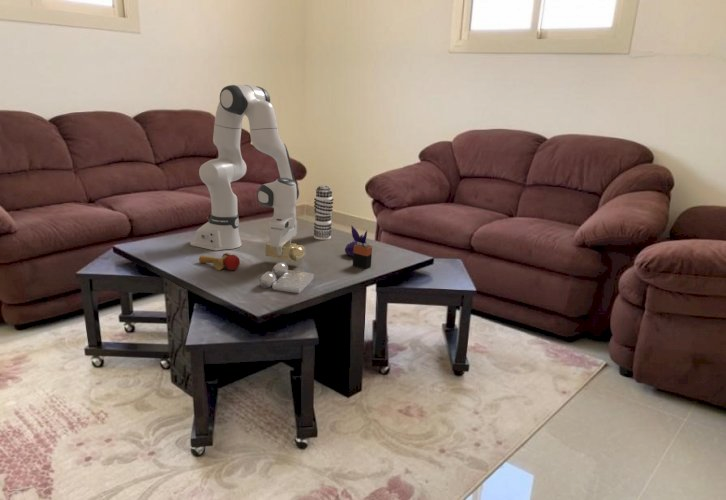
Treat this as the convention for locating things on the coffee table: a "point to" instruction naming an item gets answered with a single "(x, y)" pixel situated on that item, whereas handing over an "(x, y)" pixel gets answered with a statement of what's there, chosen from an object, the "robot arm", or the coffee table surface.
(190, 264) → the coffee table surface
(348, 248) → the creature
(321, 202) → the black white tall cylinder
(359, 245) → the battery
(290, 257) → the gold bar
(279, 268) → the plate with metal balls
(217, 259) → the kendama
